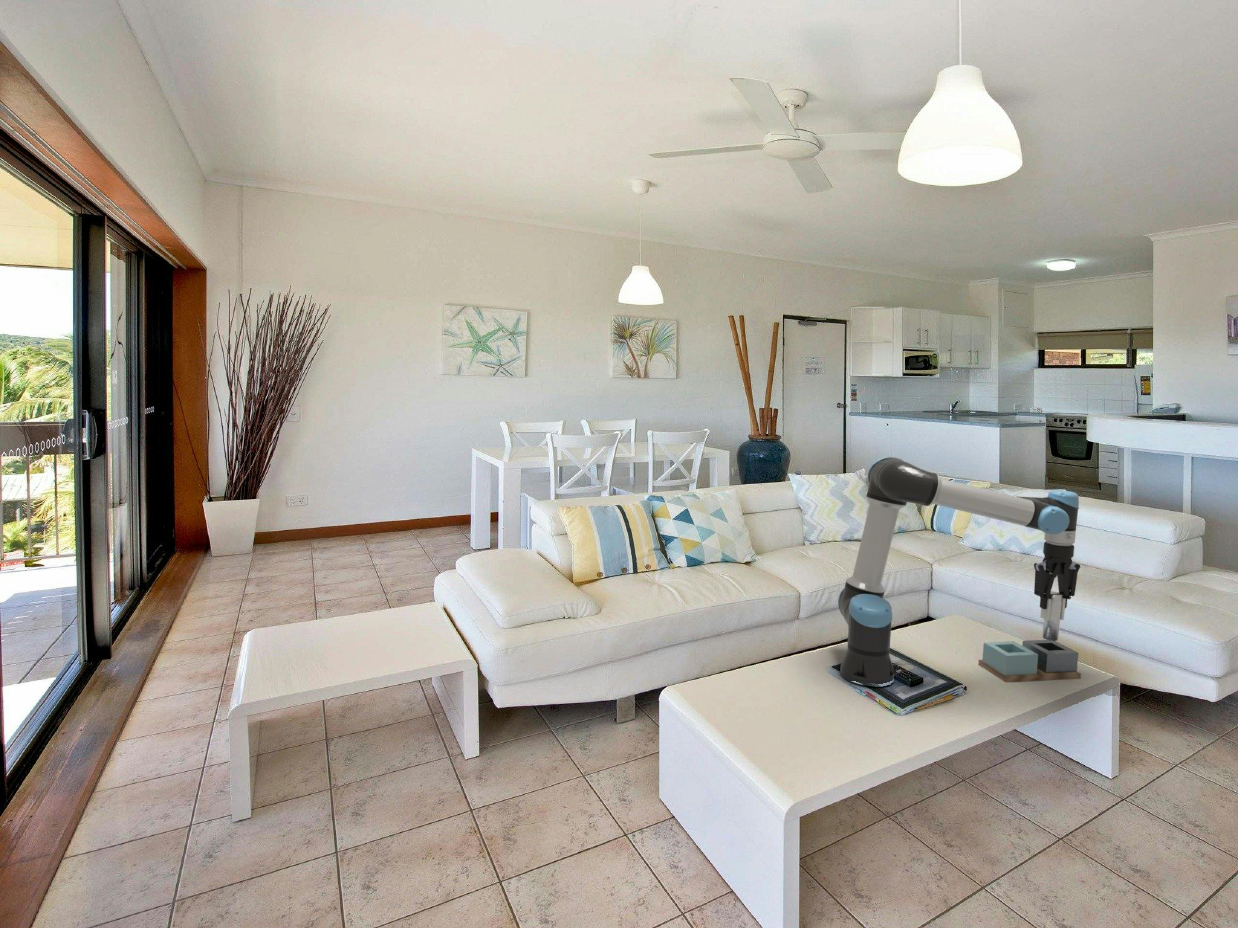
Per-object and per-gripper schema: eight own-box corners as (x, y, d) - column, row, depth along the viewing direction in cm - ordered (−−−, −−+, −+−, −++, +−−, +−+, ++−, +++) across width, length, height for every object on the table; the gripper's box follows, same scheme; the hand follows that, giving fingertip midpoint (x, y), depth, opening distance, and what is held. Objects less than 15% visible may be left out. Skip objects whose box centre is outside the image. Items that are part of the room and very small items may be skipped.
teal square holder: (1005, 675, 189) (1006, 655, 189) (982, 661, 199) (983, 642, 199) (1036, 673, 191) (1038, 654, 190) (1012, 659, 200) (1013, 641, 200)
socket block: (1045, 673, 191) (1047, 653, 190) (1021, 659, 201) (1022, 640, 200) (1076, 671, 192) (1078, 652, 191) (1050, 657, 202) (1052, 639, 201)
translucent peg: (1049, 640, 193) (1053, 595, 191) (1039, 635, 197) (1043, 591, 195) (1061, 640, 194) (1065, 595, 192) (1051, 635, 198) (1055, 591, 196)
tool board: (1005, 681, 189) (1005, 676, 188) (978, 664, 200) (978, 659, 200) (1080, 678, 191) (1080, 673, 191) (1049, 661, 203) (1049, 656, 203)
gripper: (1042, 546, 187) (1035, 624, 190) (1095, 545, 189) (1087, 622, 192) (1023, 540, 195) (1016, 615, 197) (1075, 539, 196) (1067, 613, 199)
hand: (1051, 618), depth 195 cm, fingers closed on translucent peg, 4 cm apart
